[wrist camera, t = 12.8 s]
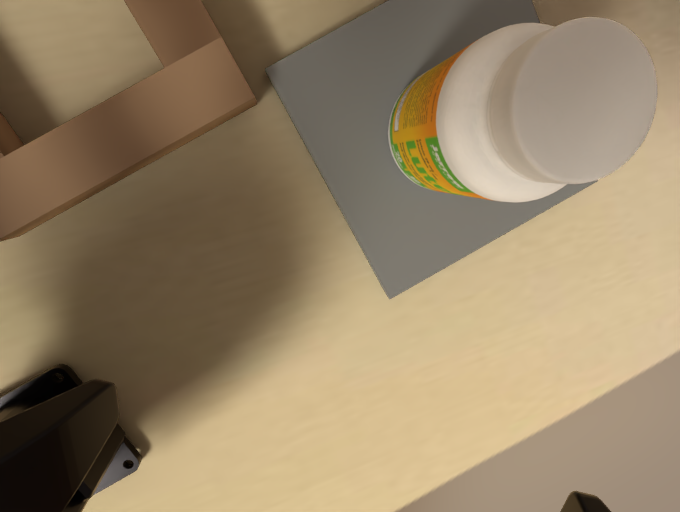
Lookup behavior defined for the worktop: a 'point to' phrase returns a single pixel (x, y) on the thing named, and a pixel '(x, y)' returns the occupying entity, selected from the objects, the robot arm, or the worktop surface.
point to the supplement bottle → (527, 111)
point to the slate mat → (372, 132)
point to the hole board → (126, 120)
